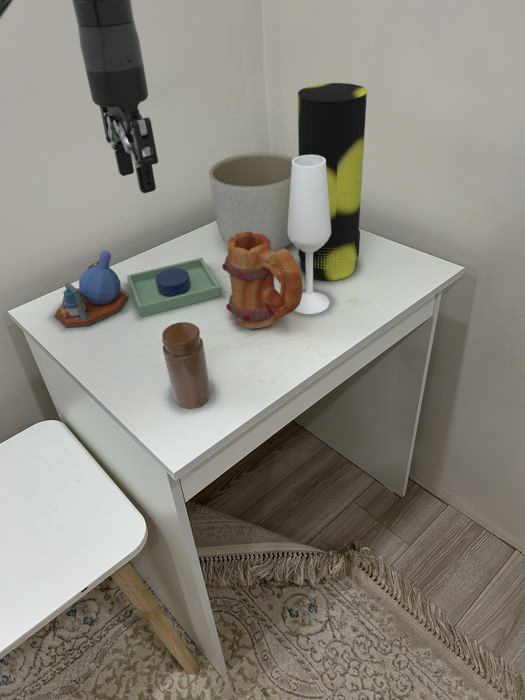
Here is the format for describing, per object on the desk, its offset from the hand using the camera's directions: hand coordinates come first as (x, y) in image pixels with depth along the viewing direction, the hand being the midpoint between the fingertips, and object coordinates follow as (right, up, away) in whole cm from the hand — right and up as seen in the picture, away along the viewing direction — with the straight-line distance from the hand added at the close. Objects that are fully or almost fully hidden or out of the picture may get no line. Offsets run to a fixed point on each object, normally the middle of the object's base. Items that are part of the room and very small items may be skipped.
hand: (137, 182), depth 82 cm
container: (+31, -10, +19) cm, 37 cm away
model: (-11, -18, +13) cm, 24 cm away
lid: (+3, -13, +14) cm, 19 cm away
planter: (+18, -4, +27) cm, 33 cm away
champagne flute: (+27, -17, +10) cm, 33 cm away
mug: (+19, -21, +6) cm, 29 cm away
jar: (+9, -31, -6) cm, 33 cm away
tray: (+3, -15, +15) cm, 21 cm away
